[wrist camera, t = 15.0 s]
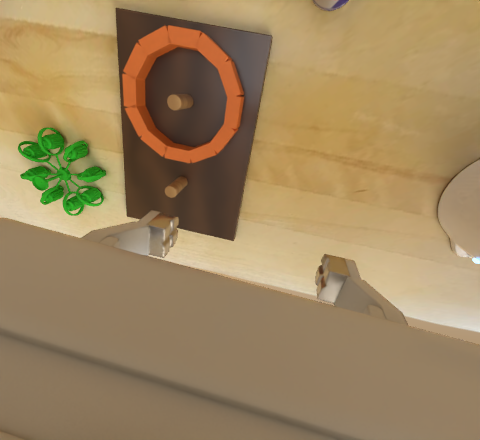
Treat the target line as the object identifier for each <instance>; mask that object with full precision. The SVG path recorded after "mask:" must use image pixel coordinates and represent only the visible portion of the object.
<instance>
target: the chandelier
mask: <svg viewBox="0 0 480 440" xmlns="http://www.w3.org/2000/svg"><path fill="white" fill-rule="evenodd" d="M46 129H50V130H52V131H54V132H55V133H56V134H50V135H45V136H44V137H42V133H43V132H44V131H45V130H46ZM38 143H39V144H38ZM38 143H35V142H31V141H24V142H21V143H20V144H19V146H18V150H19V152H20V153H21V154H22V155H23V156H24V157H26V158H27V159H29V160H32V161H35V162H47V163H49V164H50V165H51V166H52V167H54V168H55V169H56V170H57V174H51V171H50V170H48V169H46V168H45V167H42V166H38V167H35V168H32V169H29V170H28V171H26V172H25V173H23V174H21V175H20V176H21V178H22V179H27V180H29V181H32V183H33V185H34V186H35V187H36V188H37V189H38V190H41V191H43V190H46V189H47V188H48V187H49V185H48V181H51V180H54V179H56V178H60V180H59V182H58V184H57V185H56V186H55V187H53V188H50V189H48V190H46V191H45V192H44V193H42V198H41V200H40V202H41V203H42V204H44V205H46V204H49V203H51V202H53V201H56V200H58V199H60V198H62V197H63V195H64V192H63V190H64V188H63V187H62V186H61V185H59V184H60V182H61V180H65V182H66V185H67V188H68V191H69V193H67V194H66V195H65V197H64V199H63V208H64V210H65V211H66V213H67V214H69V215H79V214H80V213H81V212H82V211H83V209H84V204H86V205H89V206H99V205H101V204H102V202H103V200H104V197H103V195H102V193H101V192H100V191H99V190H98V189H97V188H93V187H90V186H81V187H80V186H78V185H77V184H76V183H75V182H73V181H72V180H71V175H77V178H78V179H79V180H84V181H86V182H94V181H96V180H98V179H100V178H101V177H103V176H105V175H106V171H104V170H101V169H100V168H98V167H95V166H94V167H91V168H89V169H86V170H85V171H84V172H82V173H80V174H70V172H69V170H67V169H68V167H69V165H70V163H71V162H73V161H75V160H77V159H79V158H82V157H85V156H86V155H87V153H88V151H87V147H88V144H87V143H86V142H85V141H78V142H76V143H74V144H73V145H70V146H69V147H67V148H66V149H65V153H64V156H63V159H64V160H65V161H66V162H69V163H68V165H67V167H66V168H63V167H61V164H60V161H59V158H58V156H57V155H59V154H61V153H62V151H63V149H64V139H63V138H62V136H61V134H60V133H59V132H58V131H57V130H55V129H53V128H43V129H41V130H40V131H39V133H38ZM24 144H31V145H30V146H28V147H26V148H24V149H23V151H22V150H21V148H20V146H21V145H24ZM83 144H84V145H83ZM56 148H60V150H59V152H58V153H56V154H51V153H50V151H49V150H48V149H56ZM42 150H43V151H42ZM47 154H48V155H49V158H48V159H44V160H40V159H38V158H42V157H45V156H47ZM51 155H56V158H57V161H58V163H59V166H60V169H59V170H58V169H57V168H56V167H55V166H53V165H52V164H51V163H50V162H48V161H49V160H50V158H51ZM67 157H68V158H70V159H69V160H67ZM48 175H57V176H55V177H52V178H49V179H47V180H46V179H45V178H47V176H48ZM81 176H82V177H81ZM67 180H70V181H71V182H72V183H74V184H75V185H76V186H77V187H79V188H78V190H77V191H76V192H71V191H70V189H69V186H68V183H67ZM83 188H87V189H88V190H86V191H84V192H83V193H82V194H80V193H78V191H79V190H80V189H83ZM72 193H76V195H77V196H74V197H72V198H70V199H68V200H67V198H68V196H69V195H70V194H72ZM100 197H101V200H102V201H101V202H100V203H98V204H93V203H91V202H94V201H96V200H97V199H99V198H100ZM66 200H67V201H66ZM44 201H46V202H44ZM80 207H81V208H80ZM78 208H80V210H79V212H78V213H76V214H71V213H70V212H69V211H73V210H76V209H78ZM68 210H69V211H68Z"/></svg>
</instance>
